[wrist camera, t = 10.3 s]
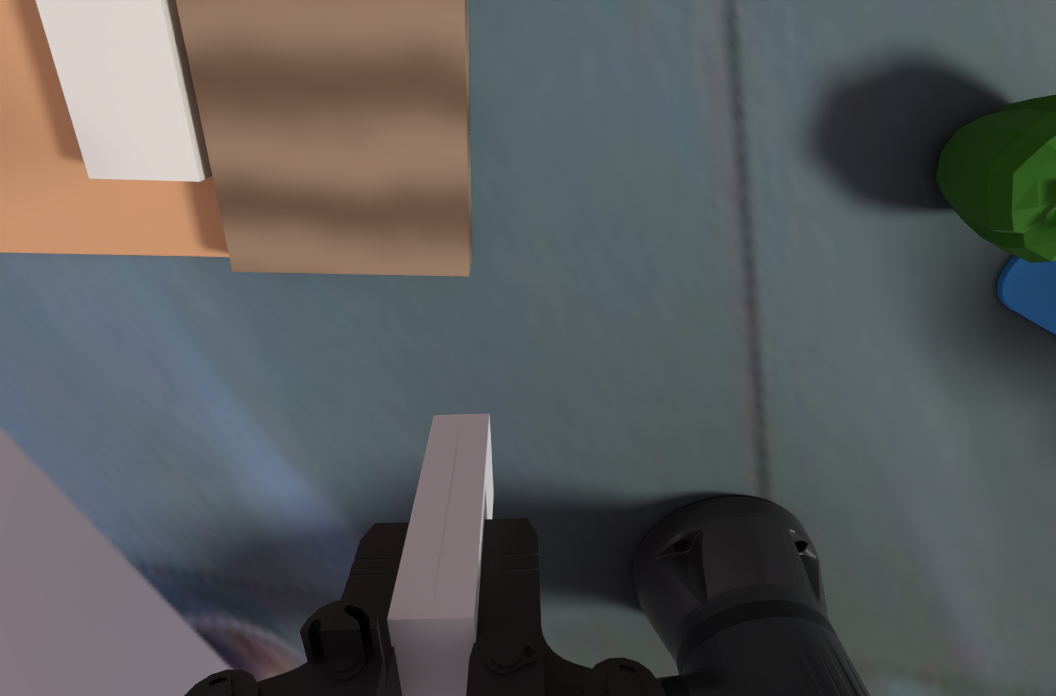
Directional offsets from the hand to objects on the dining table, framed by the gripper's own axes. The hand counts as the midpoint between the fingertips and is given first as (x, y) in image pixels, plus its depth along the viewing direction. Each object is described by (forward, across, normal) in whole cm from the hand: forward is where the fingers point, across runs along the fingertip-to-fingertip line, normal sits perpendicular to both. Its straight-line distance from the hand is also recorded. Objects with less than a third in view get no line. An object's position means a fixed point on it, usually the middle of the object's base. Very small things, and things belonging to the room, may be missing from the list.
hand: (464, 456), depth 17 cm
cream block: (+23, +19, -9) cm, 31 cm away
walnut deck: (+23, +8, -8) cm, 26 cm away
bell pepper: (+24, -30, -4) cm, 38 cm away
